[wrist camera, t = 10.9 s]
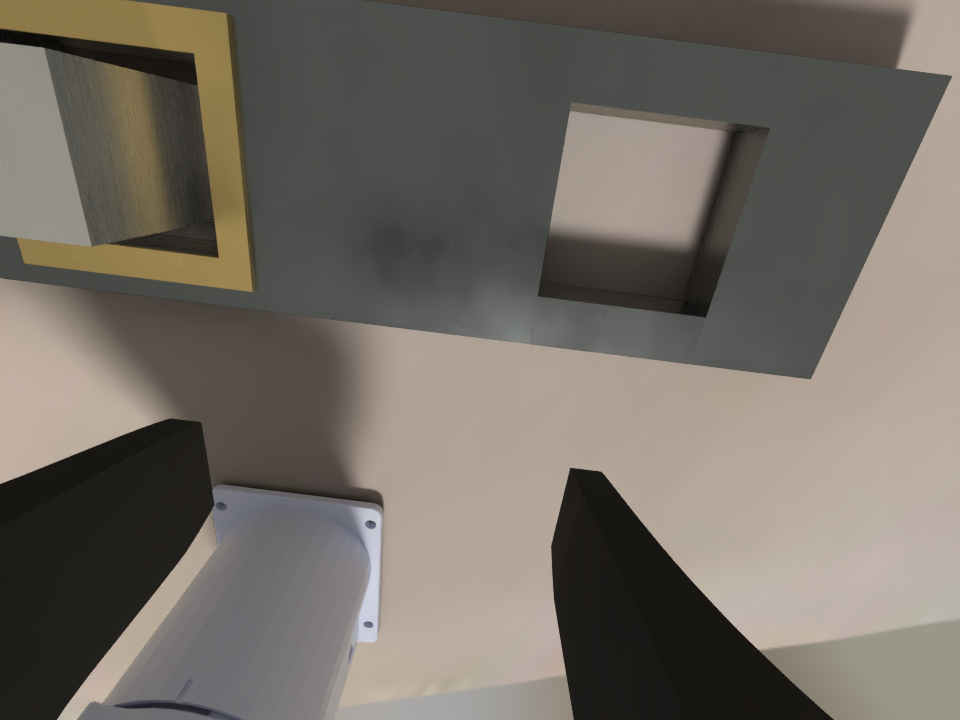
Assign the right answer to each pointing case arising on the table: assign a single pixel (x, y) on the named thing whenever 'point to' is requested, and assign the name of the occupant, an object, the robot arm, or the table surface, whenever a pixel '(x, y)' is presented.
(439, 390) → the table surface
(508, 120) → the grey slotted board
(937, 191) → the table surface
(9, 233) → the steel block
